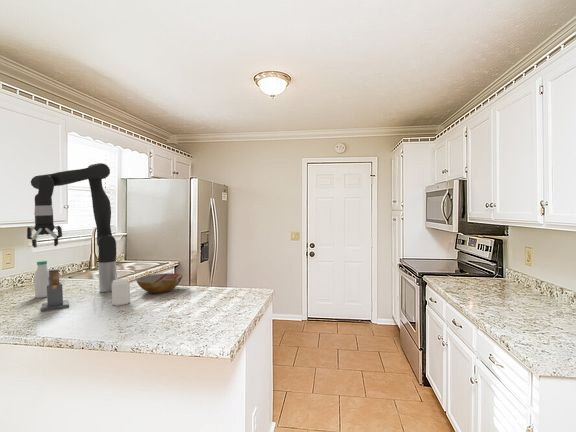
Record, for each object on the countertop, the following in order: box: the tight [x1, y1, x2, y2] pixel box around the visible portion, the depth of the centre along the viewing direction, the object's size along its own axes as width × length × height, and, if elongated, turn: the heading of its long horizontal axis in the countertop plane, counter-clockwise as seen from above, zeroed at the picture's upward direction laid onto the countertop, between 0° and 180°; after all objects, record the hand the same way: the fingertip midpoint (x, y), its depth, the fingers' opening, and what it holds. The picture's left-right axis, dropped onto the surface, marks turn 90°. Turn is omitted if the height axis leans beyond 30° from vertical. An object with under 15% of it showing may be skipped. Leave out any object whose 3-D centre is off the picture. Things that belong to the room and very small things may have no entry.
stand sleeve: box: [40, 281, 70, 312], centre depth 165 cm, size 11×11×12 cm
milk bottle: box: [33, 260, 50, 299], centre depth 187 cm, size 8×8×20 cm
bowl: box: [135, 272, 183, 295], centre depth 191 cm, size 25×25×8 cm
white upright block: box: [111, 278, 131, 307], centre depth 167 cm, size 8×8×12 cm
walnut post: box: [48, 268, 60, 285], centre depth 165 cm, size 4×4×17 cm
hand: (45, 246), depth 168 cm, fingers open, 8 cm apart
